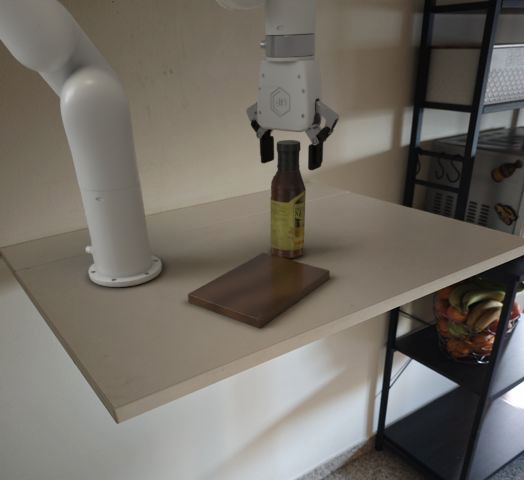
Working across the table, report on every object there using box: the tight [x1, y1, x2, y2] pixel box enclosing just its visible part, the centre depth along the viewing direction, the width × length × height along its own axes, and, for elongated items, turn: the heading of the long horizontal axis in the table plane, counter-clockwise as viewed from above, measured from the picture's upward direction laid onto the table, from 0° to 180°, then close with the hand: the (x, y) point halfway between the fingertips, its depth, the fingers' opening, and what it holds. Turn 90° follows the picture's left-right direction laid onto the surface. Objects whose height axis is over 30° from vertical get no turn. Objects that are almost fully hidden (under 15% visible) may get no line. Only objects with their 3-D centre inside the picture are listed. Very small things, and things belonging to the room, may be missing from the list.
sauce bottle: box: [270, 139, 307, 260], centre depth 89 cm, size 7×6×20 cm
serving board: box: [187, 252, 331, 329], centre depth 81 cm, size 14×20×2 cm
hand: (290, 165), depth 85 cm, fingers open, 9 cm apart
